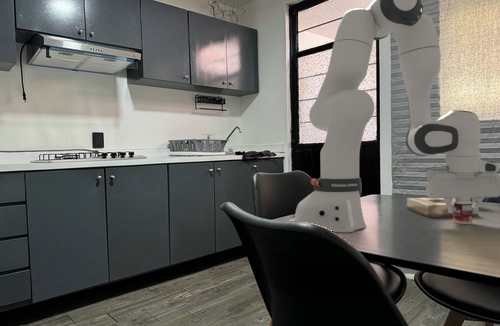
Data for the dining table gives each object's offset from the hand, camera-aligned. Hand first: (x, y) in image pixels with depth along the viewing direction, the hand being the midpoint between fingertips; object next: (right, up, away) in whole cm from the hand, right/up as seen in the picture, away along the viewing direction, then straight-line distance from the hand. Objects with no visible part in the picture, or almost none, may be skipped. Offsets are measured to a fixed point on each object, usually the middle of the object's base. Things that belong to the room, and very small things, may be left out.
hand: (462, 212), depth 102 cm
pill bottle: (0, -3, 0) cm, 3 cm away
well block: (+3, -2, +17) cm, 17 cm away
